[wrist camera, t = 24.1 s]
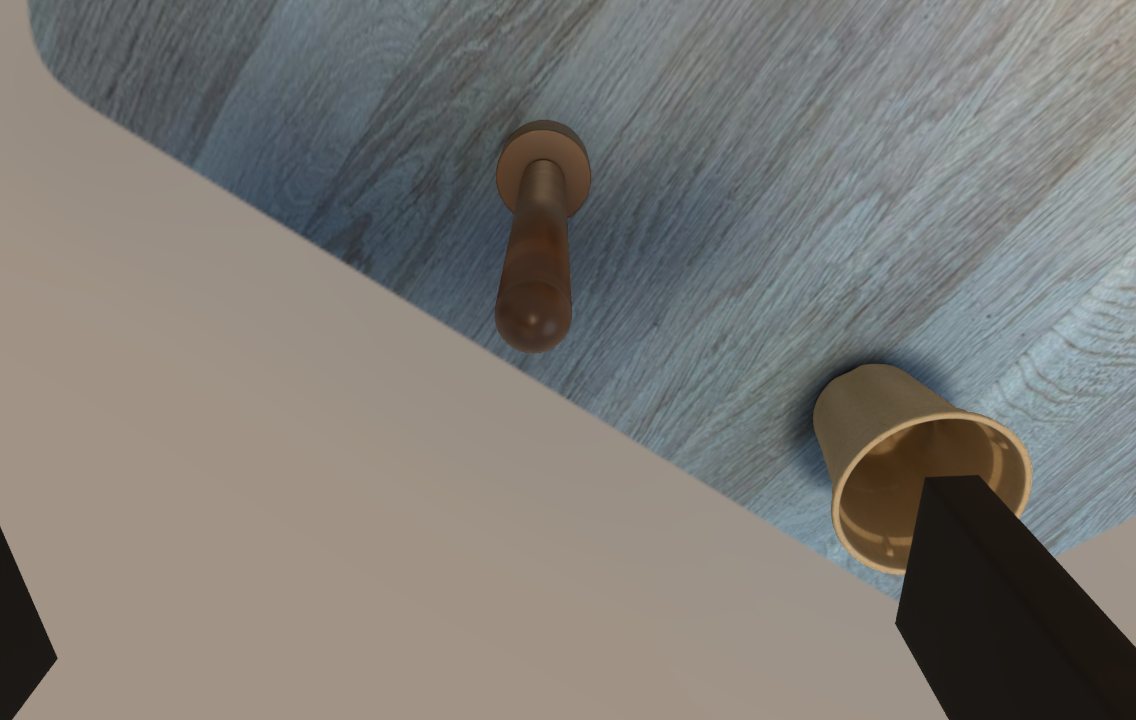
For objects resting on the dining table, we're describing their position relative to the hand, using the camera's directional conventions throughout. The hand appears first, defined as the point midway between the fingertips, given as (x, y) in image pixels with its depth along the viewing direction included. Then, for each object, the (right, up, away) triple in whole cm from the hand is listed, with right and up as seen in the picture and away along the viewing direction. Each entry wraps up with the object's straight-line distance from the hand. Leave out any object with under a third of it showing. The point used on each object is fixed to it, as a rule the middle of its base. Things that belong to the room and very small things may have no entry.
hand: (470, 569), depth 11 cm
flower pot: (+19, 0, +33) cm, 38 cm away
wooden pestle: (0, +13, +27) cm, 30 cm away
